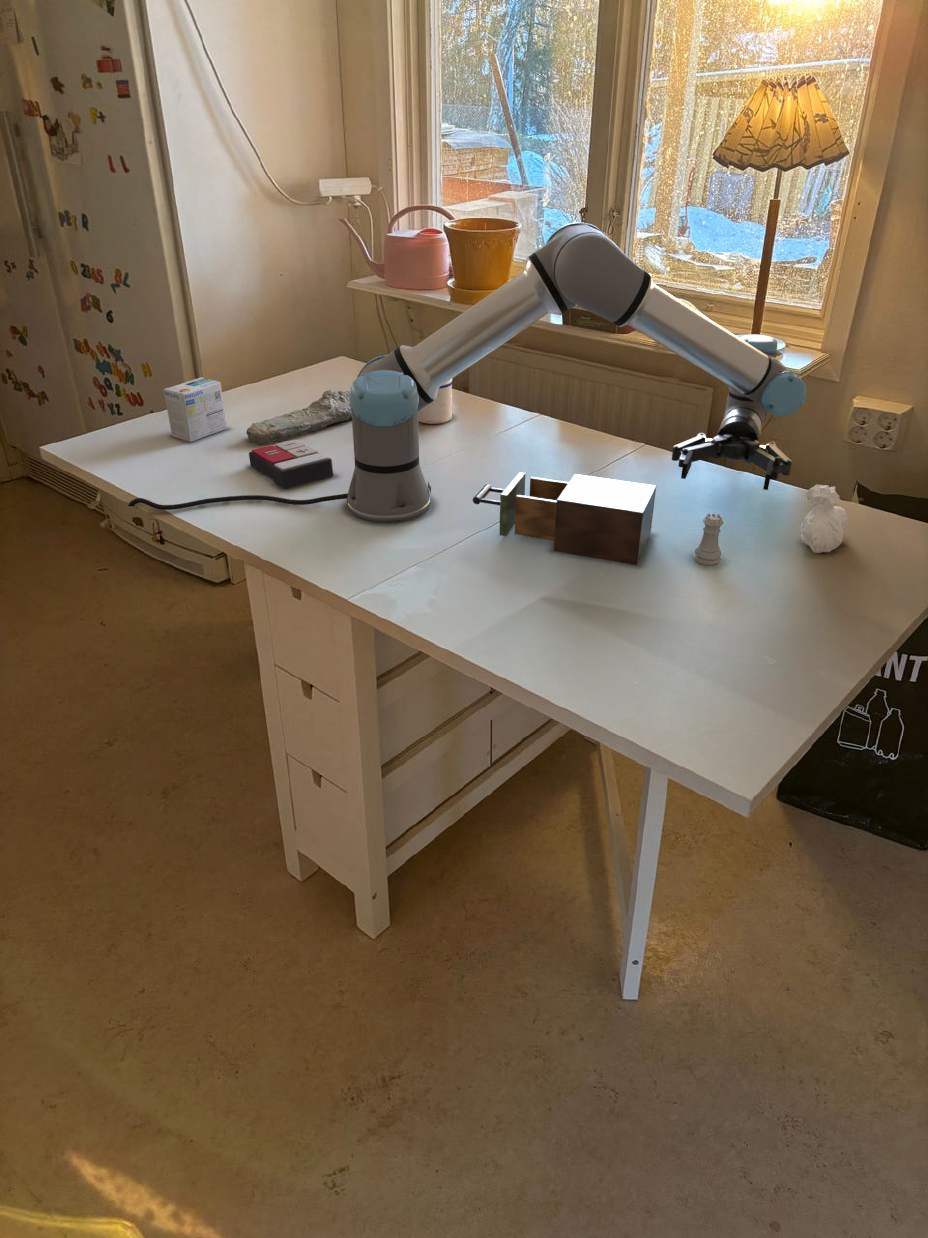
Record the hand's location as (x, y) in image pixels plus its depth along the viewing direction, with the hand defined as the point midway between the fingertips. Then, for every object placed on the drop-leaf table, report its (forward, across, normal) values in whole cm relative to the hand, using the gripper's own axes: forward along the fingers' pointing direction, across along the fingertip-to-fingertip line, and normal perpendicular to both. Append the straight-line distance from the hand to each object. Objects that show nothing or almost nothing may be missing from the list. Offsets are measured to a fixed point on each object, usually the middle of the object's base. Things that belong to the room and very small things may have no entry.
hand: (724, 476), depth 152 cm
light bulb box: (-10, +113, -10) cm, 114 cm away
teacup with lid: (-38, +70, -10) cm, 81 cm away
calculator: (+2, +83, -10) cm, 84 cm away
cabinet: (+11, +18, -10) cm, 23 cm away
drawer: (+11, +31, -10) cm, 34 cm away
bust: (-2, -17, -11) cm, 20 cm away
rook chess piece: (+11, 0, -11) cm, 15 cm away
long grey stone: (-24, +92, -10) cm, 96 cm away
